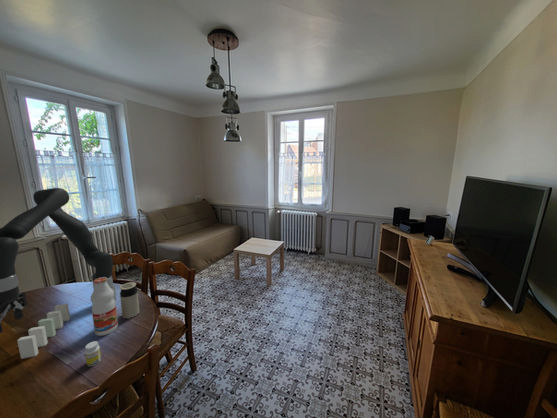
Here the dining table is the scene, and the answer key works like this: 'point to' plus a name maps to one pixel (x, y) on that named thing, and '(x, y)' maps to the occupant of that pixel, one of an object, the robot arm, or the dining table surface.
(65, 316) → the domino
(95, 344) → the supplement bottle
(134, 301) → the travel mug
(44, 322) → the domino
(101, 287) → the fruit juice
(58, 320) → the domino
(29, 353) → the domino
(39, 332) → the domino
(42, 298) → the dining table surface
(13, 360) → the dining table surface
